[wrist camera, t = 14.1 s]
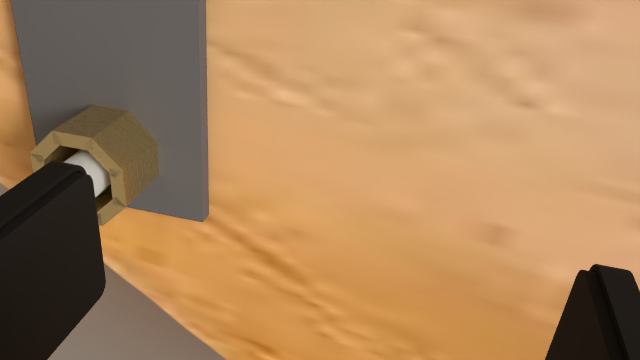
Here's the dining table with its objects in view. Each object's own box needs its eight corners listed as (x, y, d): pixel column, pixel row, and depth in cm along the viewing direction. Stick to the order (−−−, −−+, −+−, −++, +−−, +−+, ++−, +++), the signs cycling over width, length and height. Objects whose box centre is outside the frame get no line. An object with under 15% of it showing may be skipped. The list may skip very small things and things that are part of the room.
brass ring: (68, 100, 43) (24, 125, 39) (155, 115, 42) (120, 143, 38) (80, 181, 47) (40, 213, 42) (160, 197, 46) (128, 231, 41)
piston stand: (10, -72, 39) (-75, -61, 33) (204, -48, 37) (152, -31, 31) (53, 183, 49) (-7, 229, 43) (208, 214, 47) (169, 266, 41)
